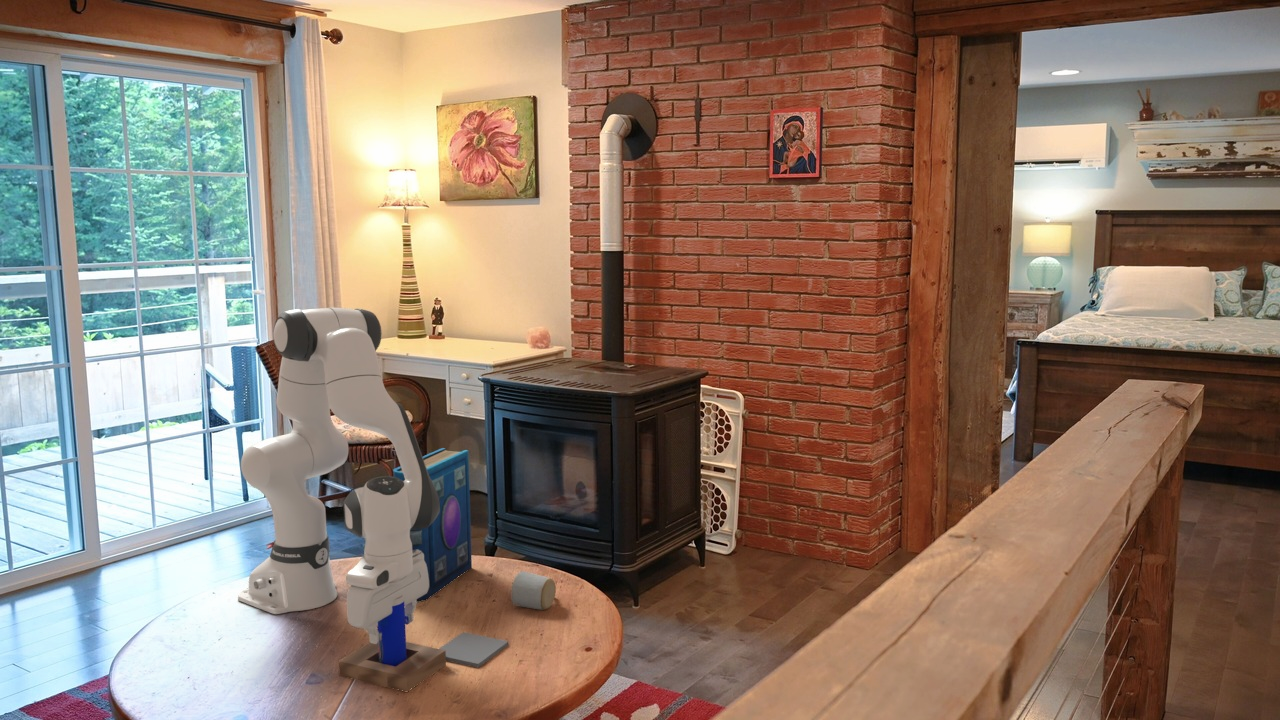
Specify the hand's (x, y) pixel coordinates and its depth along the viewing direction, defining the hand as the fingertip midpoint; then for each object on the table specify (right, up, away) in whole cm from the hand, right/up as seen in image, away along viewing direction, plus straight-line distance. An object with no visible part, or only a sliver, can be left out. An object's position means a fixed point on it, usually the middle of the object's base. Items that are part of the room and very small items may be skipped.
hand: (391, 632), depth 184 cm
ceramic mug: (+24, -3, +33) cm, 41 cm away
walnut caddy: (0, -8, +1) cm, 8 cm away
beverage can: (0, -8, +1) cm, 8 cm away
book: (-1, -1, +45) cm, 45 cm away
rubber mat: (+13, -6, +9) cm, 18 cm away
